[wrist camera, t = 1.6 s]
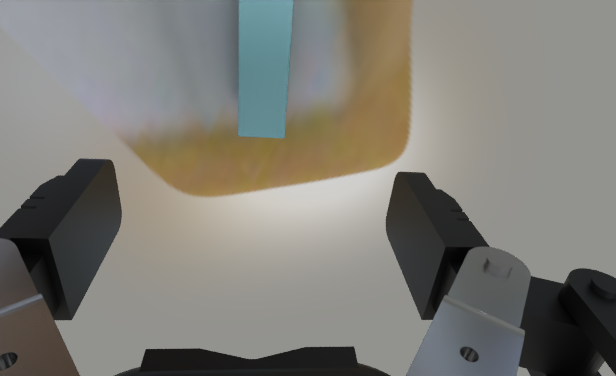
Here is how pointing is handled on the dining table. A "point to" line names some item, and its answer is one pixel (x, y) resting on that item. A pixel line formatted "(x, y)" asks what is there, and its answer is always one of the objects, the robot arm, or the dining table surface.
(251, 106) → the panel
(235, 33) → the dining table surface
